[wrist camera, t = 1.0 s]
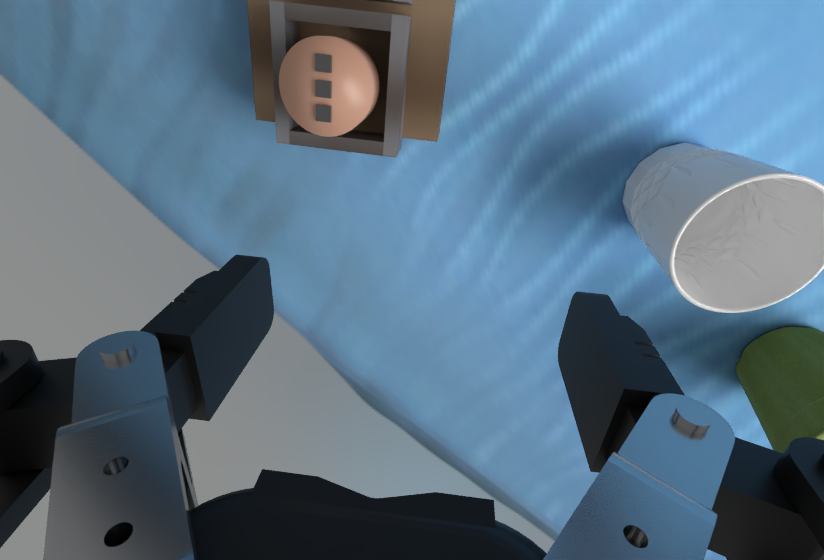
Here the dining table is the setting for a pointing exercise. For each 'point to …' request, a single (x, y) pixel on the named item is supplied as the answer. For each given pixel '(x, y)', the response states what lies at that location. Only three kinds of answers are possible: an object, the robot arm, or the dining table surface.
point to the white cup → (727, 226)
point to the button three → (328, 84)
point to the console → (388, 47)
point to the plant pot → (786, 383)
